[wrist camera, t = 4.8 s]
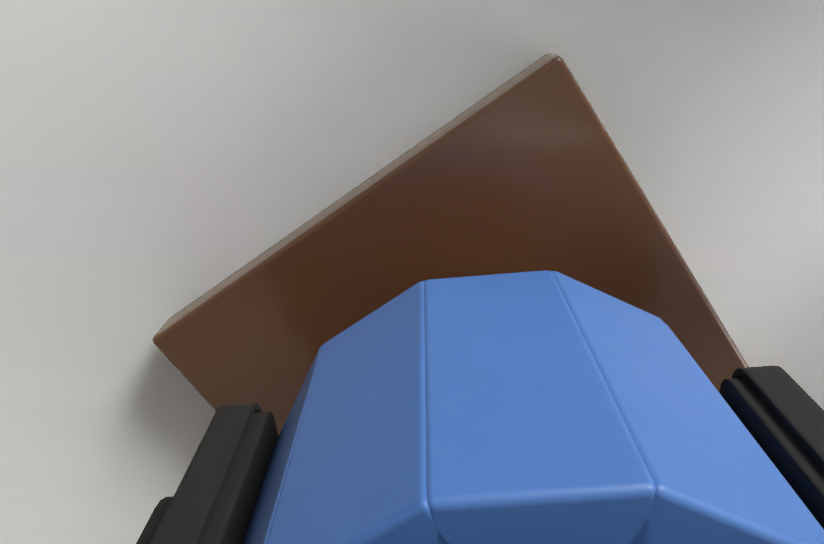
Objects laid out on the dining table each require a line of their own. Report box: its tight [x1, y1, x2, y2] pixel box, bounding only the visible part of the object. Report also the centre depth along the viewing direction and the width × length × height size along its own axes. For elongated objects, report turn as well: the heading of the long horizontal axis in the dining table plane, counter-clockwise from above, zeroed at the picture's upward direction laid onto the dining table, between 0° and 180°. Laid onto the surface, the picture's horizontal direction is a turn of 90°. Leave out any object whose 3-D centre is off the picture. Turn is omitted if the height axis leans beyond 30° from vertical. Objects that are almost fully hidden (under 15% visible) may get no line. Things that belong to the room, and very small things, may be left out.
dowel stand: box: [153, 54, 749, 436], centre depth 11 cm, size 9×9×8 cm
